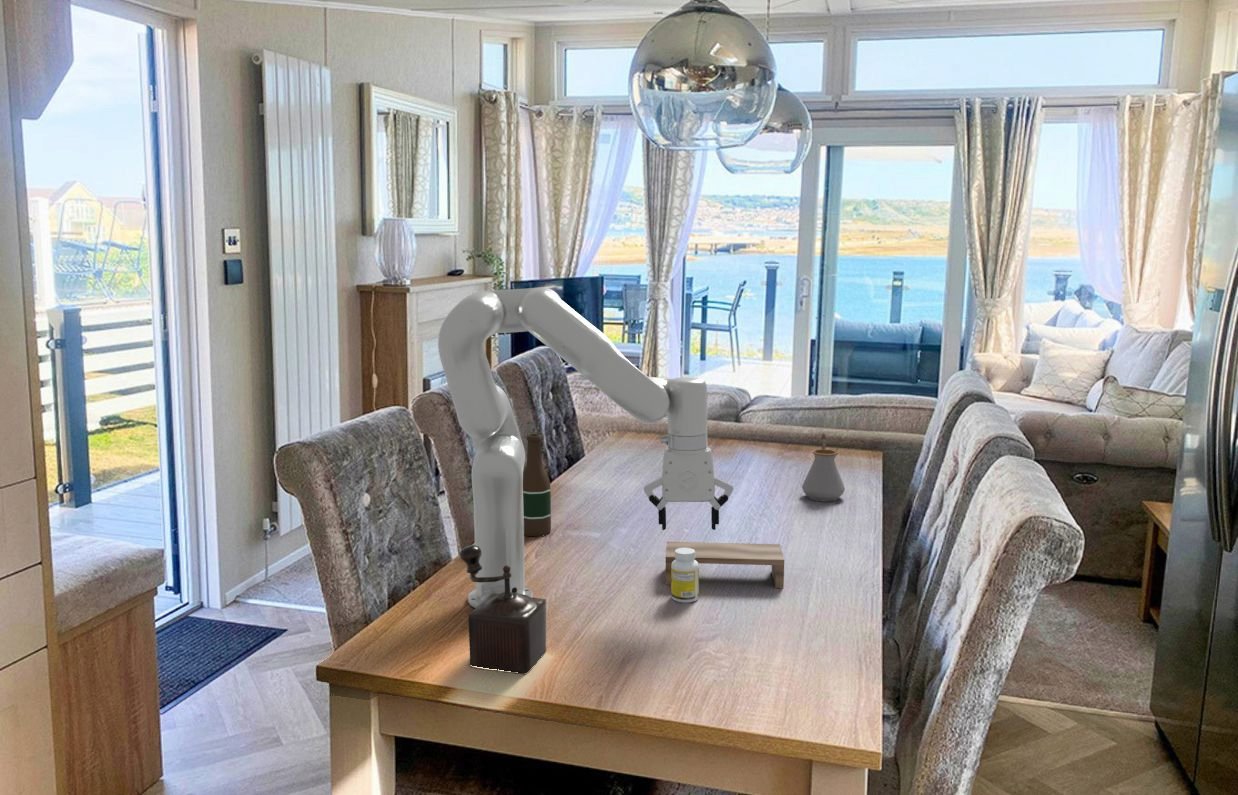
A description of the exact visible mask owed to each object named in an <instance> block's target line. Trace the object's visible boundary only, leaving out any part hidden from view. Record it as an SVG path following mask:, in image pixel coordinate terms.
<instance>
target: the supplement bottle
mask: <svg viewBox="0 0 1238 795" xmlns="http://www.w3.org/2000/svg"><path fill="white" fill-rule="evenodd" d="M675 558H676V560H674V561H673V562H672V564H671V585H670V587H671V588H670V590H671V591H670V592H671V593H670V595H671V599H672V600H674V601H675V602H677V603H685V604H686V603H687V604H689V603H693V602H696V601H697V600H698V599H699V595H700V594H699V593H700V592H699V590H700V589H699V587H700V586H699V584H700V583H699V582H700V581H699V580H700V575H699V574H700V571H699V570H700V569H699V568H700V566H699V564H700V563H698V562H697V561H696V560H694V559H695V550H694V549H691V548H678V549H676V550H675Z"/></svg>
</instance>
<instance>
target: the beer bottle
mask: <svg viewBox="0 0 1238 795" xmlns="http://www.w3.org/2000/svg"><path fill="white" fill-rule="evenodd" d="M525 439H526V441H527V449H526V452H527V453H526V462H525V463H526V465H525V467H524V469H523V512H524V535H526V536H525V537H528V536H542V537H544V536H543V535H545V536H547V535H550V534H551V532H552V514H551V513H552V512H551V511H552V509H551V507H552V505H551V503H552V502H551V498H552V497H551V496H552V495H551V493H552V492H551V491H552V490H551V489H552V488H551V481H550V477H549V475H548V473H547V471H546V470H545V468H544V465H543V455H542V440H543V439H542V435H541V434H539V433H531V434H527V435H526V438H525ZM549 533H550V534H549ZM546 534H547V535H546Z"/></svg>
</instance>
